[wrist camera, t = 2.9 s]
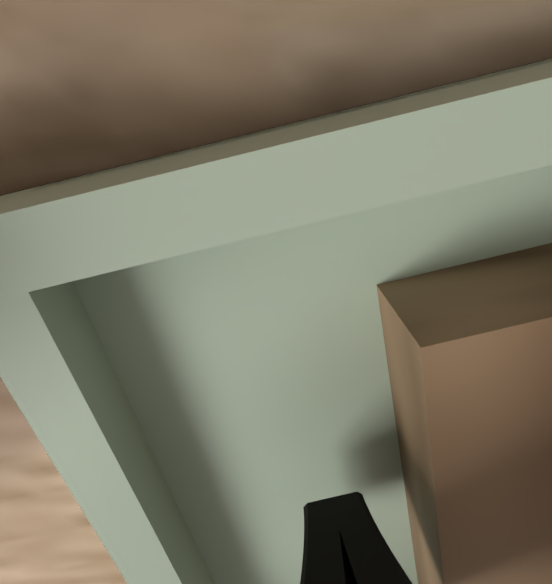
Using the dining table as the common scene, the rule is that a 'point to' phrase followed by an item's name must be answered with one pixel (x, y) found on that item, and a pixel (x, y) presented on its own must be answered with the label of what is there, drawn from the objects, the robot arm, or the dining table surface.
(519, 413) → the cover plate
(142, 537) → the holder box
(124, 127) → the dining table surface
